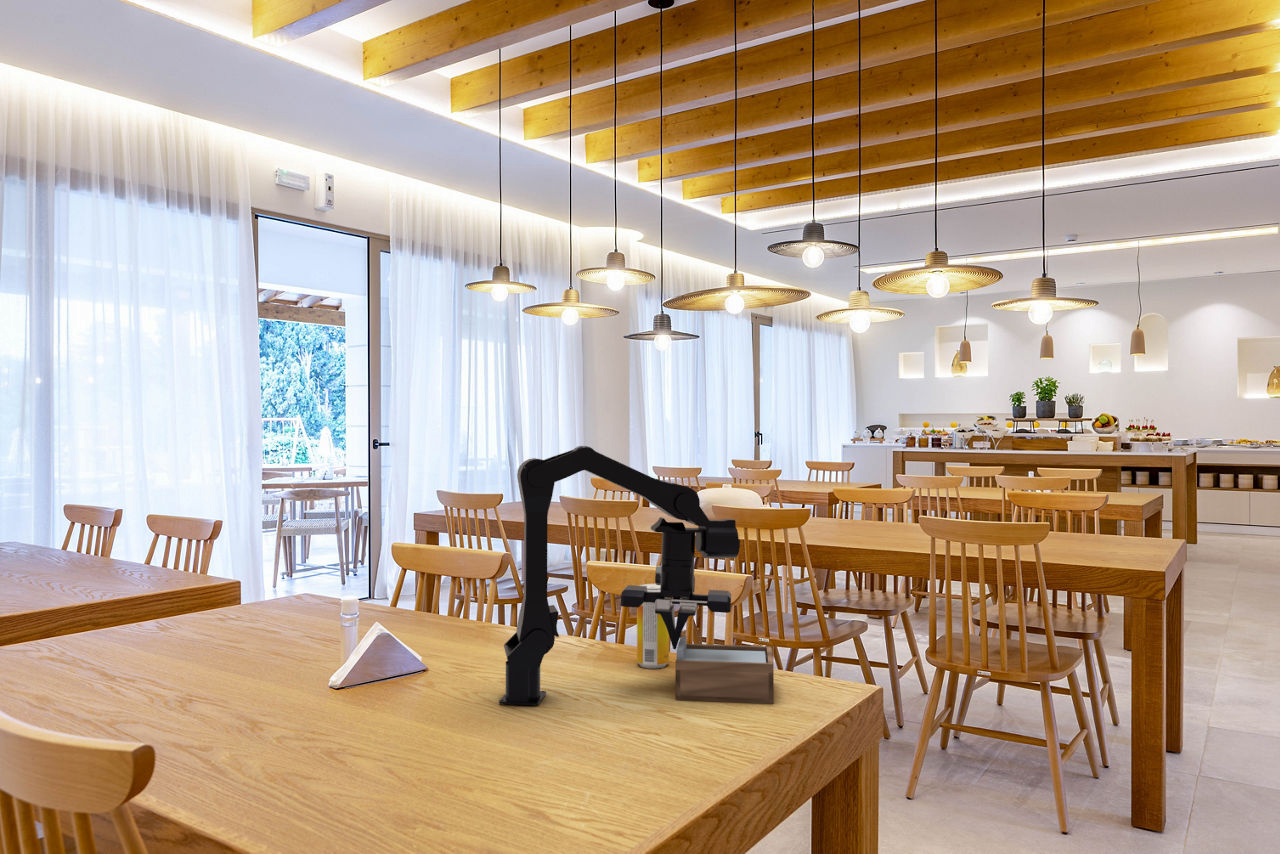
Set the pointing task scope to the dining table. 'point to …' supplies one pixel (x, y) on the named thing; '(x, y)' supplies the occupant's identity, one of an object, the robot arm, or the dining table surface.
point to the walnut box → (725, 678)
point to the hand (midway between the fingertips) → (674, 648)
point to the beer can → (651, 635)
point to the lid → (717, 654)
